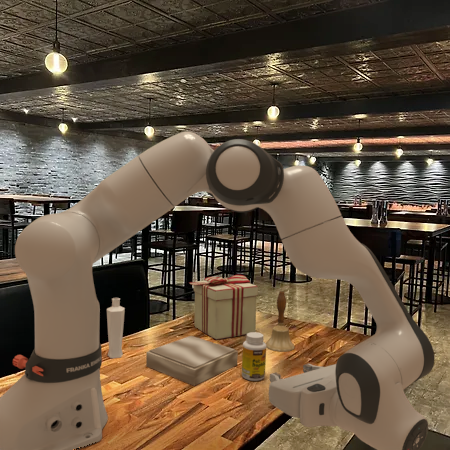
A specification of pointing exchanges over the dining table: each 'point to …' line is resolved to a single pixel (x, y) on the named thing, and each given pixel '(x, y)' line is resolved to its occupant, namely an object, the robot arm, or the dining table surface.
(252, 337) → the supplement bottle
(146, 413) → the dining table surface
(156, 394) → the dining table surface
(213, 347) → the riser
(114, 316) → the perfume bottle
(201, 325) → the gift box
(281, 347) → the hand bell
